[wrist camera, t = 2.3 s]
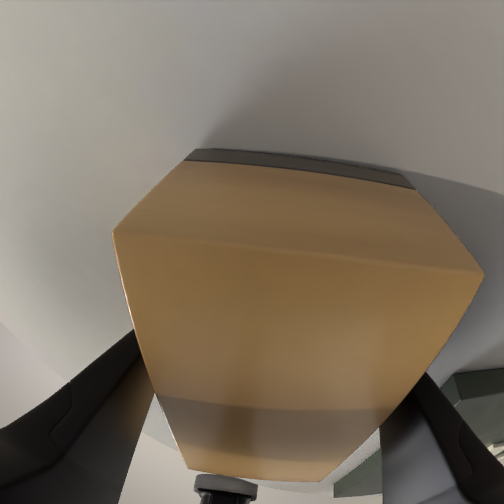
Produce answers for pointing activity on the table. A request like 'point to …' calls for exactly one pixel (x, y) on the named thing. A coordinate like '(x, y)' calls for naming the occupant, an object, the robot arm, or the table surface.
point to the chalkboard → (469, 407)
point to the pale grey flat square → (500, 456)
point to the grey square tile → (496, 448)
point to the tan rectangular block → (286, 306)
